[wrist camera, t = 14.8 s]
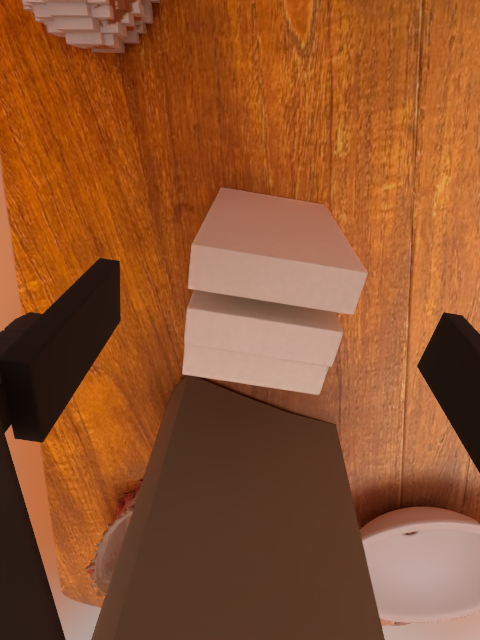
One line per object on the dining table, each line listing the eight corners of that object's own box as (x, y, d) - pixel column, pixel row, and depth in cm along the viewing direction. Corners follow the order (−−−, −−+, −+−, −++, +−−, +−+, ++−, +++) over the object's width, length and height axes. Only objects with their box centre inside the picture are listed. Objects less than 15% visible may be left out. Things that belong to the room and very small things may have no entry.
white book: (220, 186, 32) (191, 243, 19) (325, 204, 32) (368, 272, 19) (217, 216, 33) (187, 289, 20) (317, 233, 33) (353, 315, 20)
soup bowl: (530, 536, 53) (562, 589, 47) (382, 589, 62) (395, 638, 56) (444, 445, 45) (471, 495, 39) (289, 520, 54) (293, 569, 48)
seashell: (179, 546, 62) (241, 512, 55) (167, 627, 53) (238, 598, 46) (87, 506, 55) (144, 463, 49) (56, 591, 47) (120, 552, 40)
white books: (215, 232, 33) (186, 307, 21) (313, 248, 34) (344, 332, 21) (207, 294, 37) (179, 392, 24) (298, 308, 37) (316, 413, 24)
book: (160, 418, 45) (66, 705, 24) (183, 368, 41) (94, 657, 20) (302, 467, 48) (334, 761, 27) (335, 424, 44) (405, 730, 23)
